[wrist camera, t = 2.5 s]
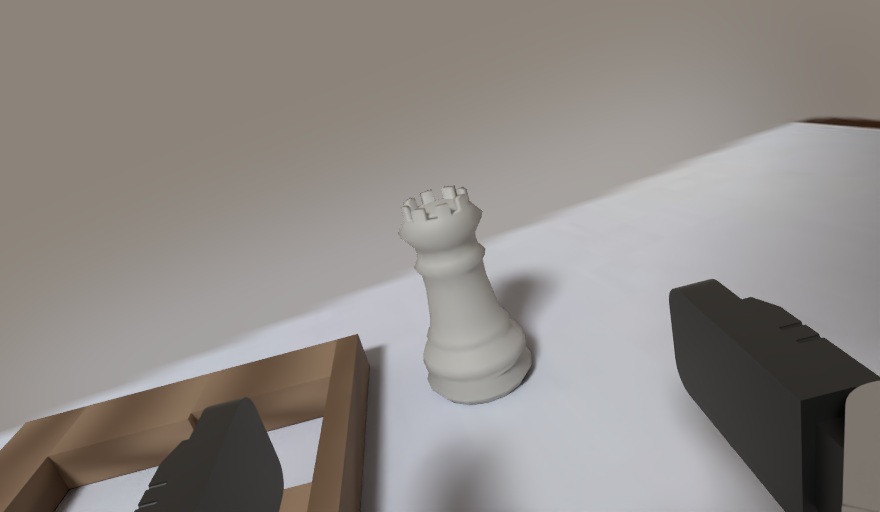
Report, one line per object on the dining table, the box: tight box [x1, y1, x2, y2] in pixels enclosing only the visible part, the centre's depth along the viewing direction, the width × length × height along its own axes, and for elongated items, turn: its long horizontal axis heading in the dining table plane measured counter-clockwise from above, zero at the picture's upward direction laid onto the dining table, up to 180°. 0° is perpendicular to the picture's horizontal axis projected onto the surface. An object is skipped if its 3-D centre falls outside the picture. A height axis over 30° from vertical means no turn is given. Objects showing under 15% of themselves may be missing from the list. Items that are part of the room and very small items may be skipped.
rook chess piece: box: [398, 186, 532, 405], centre depth 23 cm, size 4×4×8 cm
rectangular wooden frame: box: [0, 334, 369, 512], centre depth 22 cm, size 16×12×2 cm
